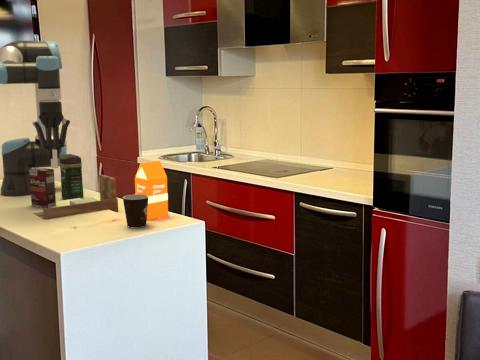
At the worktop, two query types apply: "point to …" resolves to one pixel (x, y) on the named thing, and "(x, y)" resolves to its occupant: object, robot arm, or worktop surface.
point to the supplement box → (42, 187)
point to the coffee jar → (71, 177)
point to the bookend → (83, 201)
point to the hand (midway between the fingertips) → (54, 167)
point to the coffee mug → (136, 209)
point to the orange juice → (153, 188)
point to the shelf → (106, 202)
